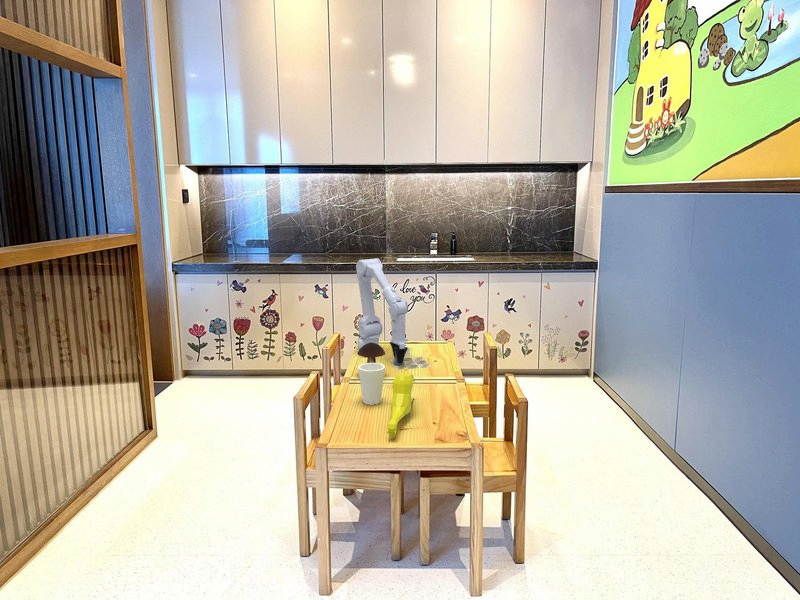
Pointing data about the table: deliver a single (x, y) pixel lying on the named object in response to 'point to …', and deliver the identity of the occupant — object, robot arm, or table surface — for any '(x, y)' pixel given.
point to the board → (412, 363)
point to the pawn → (396, 361)
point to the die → (407, 351)
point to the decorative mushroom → (371, 352)
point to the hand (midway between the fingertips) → (398, 360)
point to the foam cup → (371, 382)
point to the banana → (400, 400)
